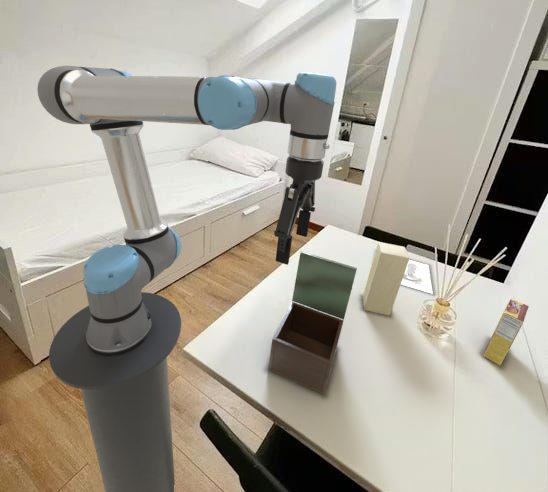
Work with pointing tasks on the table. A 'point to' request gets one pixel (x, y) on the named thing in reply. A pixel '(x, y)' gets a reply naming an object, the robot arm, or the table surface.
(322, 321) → the chest
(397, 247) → the toy refrigerator
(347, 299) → the chest lid
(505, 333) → the candy box
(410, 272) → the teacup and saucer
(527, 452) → the table surface
